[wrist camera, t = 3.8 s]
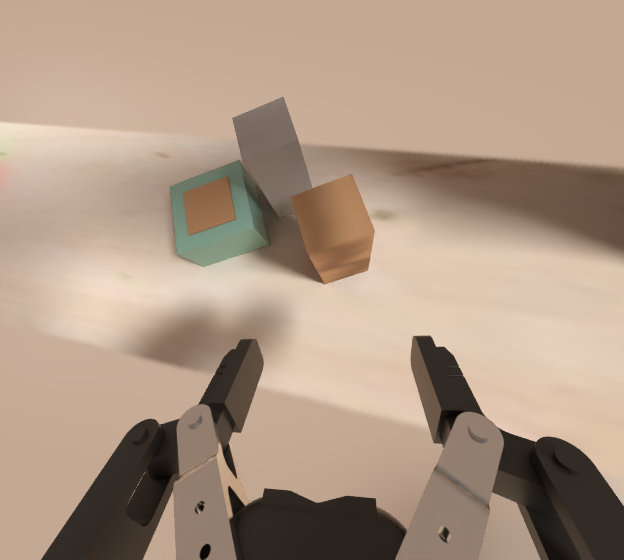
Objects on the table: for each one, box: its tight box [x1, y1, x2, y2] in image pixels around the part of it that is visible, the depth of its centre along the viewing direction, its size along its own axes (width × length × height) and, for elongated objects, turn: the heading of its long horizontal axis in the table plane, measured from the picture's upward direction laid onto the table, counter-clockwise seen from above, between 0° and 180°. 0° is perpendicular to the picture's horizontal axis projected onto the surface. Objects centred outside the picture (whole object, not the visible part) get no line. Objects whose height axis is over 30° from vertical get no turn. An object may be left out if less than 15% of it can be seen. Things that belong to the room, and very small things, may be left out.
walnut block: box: [290, 174, 375, 284], centre depth 22 cm, size 5×5×10 cm
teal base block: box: [170, 161, 269, 267], centre depth 28 cm, size 9×9×5 cm
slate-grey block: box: [232, 97, 312, 218], centre depth 25 cm, size 5×5×10 cm
